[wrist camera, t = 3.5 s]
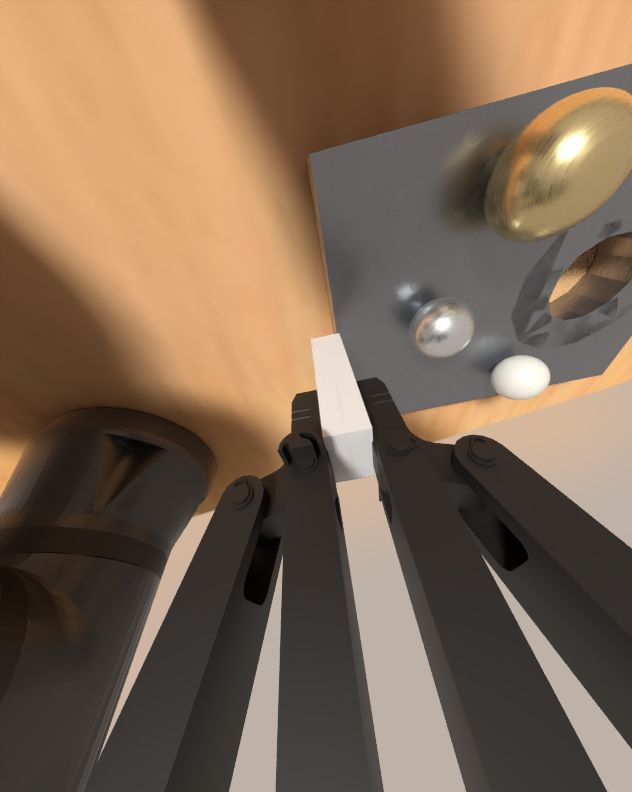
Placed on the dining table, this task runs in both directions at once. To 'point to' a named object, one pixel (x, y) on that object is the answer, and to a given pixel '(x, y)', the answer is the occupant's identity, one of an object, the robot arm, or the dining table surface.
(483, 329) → the plate
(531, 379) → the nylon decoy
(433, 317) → the steel ball
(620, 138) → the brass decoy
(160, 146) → the dining table surface
